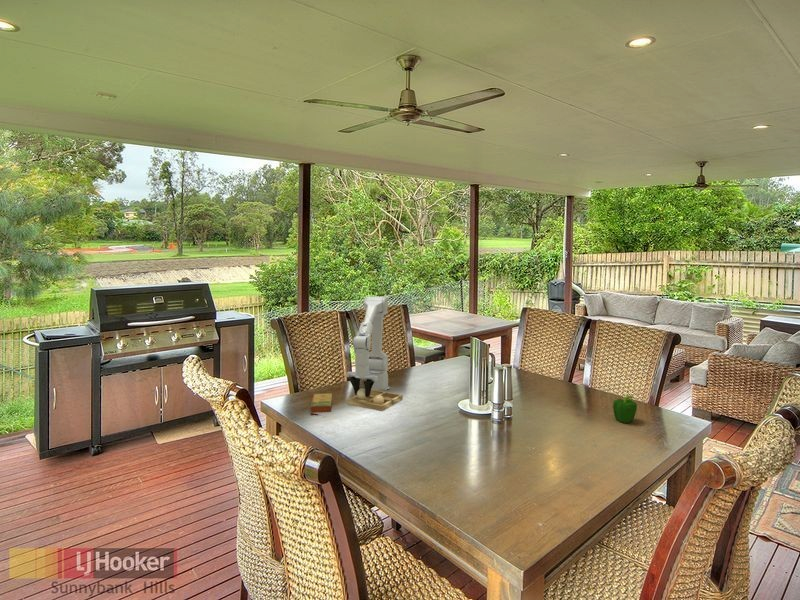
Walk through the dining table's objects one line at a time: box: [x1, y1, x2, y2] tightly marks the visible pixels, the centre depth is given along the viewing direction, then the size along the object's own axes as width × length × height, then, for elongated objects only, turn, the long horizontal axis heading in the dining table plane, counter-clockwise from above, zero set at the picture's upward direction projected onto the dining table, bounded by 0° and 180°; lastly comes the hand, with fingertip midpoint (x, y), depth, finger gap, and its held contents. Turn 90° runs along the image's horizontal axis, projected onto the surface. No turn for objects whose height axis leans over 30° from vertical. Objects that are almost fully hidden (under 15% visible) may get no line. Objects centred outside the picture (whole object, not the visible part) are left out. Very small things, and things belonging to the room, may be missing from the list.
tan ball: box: [373, 395, 384, 405], centre depth 201 cm, size 5×5×5 cm
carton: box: [309, 393, 333, 416], centre depth 202 cm, size 8×16×4 cm, turn 6°
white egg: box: [357, 387, 366, 399], centre depth 205 cm, size 5×5×5 cm
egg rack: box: [347, 389, 404, 412], centre depth 207 cm, size 17×17×3 cm
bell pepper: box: [612, 395, 638, 424], centre depth 188 cm, size 8×8×10 cm
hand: (362, 395), depth 205 cm, fingers open, 5 cm apart
